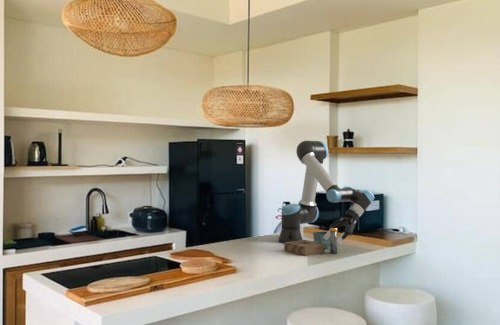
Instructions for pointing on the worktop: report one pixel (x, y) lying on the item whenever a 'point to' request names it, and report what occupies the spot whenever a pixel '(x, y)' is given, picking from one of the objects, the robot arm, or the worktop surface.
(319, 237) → the flower pot
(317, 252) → the block
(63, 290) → the worktop surface
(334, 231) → the metal pin
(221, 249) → the worktop surface
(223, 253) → the worktop surface
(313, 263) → the worktop surface
